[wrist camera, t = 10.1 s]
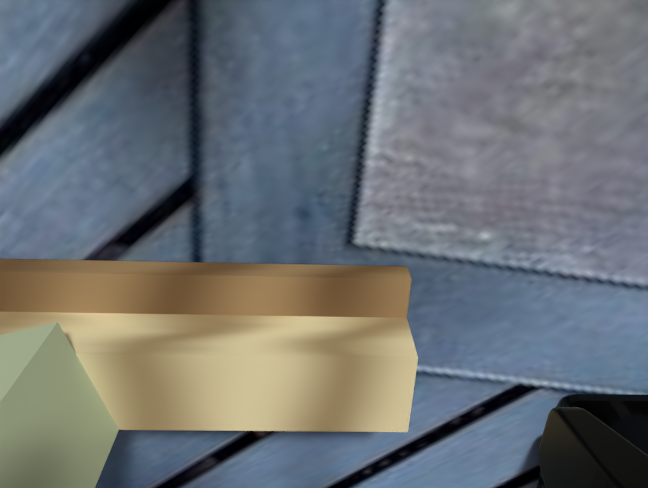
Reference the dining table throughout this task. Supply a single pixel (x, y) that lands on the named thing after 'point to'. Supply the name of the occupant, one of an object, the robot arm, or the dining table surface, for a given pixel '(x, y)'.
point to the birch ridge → (228, 340)
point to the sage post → (49, 414)
